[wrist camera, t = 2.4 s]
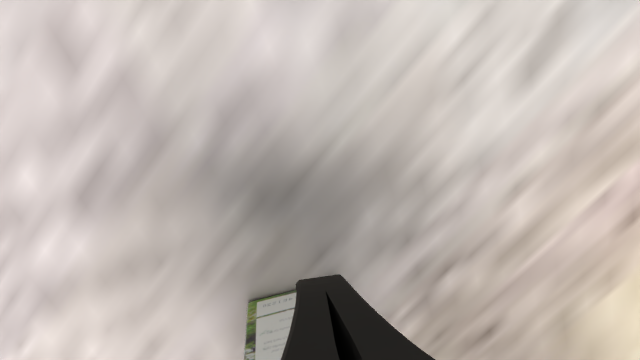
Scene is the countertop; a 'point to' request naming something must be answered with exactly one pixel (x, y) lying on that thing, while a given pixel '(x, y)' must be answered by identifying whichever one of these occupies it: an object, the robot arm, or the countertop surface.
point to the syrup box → (268, 326)
